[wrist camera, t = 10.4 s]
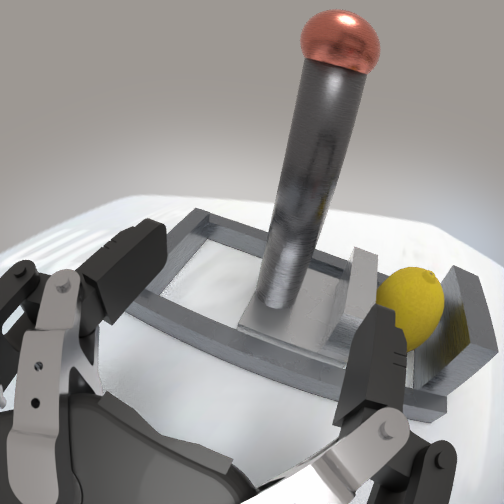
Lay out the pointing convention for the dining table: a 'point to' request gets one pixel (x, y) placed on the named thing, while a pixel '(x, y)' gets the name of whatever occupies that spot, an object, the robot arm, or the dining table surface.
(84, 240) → the dining table surface
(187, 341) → the frame
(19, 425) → the robot arm
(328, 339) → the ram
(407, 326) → the lemon
